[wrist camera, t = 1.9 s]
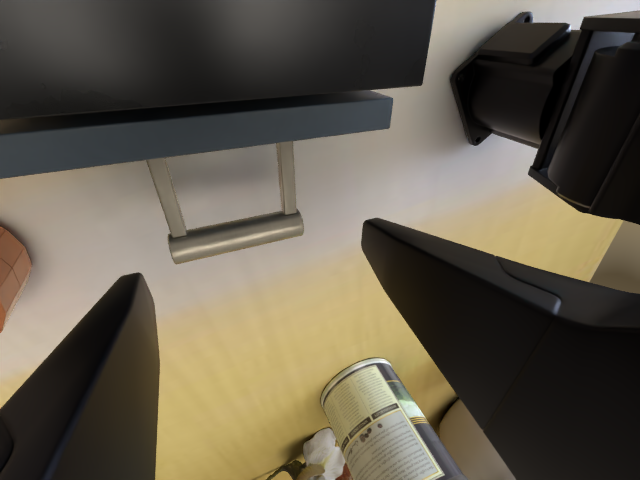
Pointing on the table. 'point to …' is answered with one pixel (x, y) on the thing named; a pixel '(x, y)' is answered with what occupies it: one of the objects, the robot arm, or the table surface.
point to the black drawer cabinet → (202, 51)
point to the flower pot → (11, 273)
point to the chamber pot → (471, 446)
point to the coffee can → (383, 427)
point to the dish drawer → (194, 152)
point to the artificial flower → (317, 459)
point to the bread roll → (345, 474)
